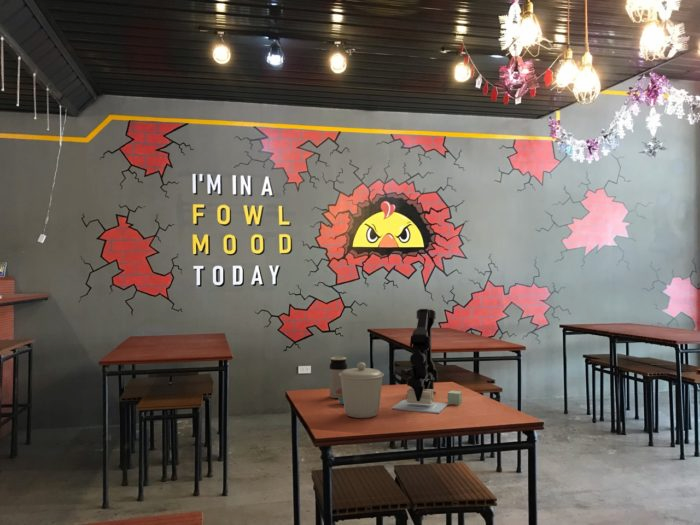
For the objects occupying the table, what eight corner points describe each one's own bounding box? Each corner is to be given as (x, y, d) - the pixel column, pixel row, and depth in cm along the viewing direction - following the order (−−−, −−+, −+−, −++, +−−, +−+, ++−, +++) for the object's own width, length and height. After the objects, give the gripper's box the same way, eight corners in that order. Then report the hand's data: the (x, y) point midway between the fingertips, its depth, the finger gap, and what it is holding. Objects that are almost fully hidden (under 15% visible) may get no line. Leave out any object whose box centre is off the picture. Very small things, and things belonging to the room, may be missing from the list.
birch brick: (410, 399, 239) (410, 387, 240) (433, 401, 236) (433, 389, 236) (407, 402, 234) (407, 390, 234) (430, 404, 230) (430, 392, 230)
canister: (378, 422, 210) (377, 367, 211) (333, 419, 216) (332, 365, 216) (388, 411, 228) (388, 360, 228) (346, 408, 233) (346, 358, 233)
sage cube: (450, 401, 244) (450, 390, 244) (461, 402, 242) (461, 391, 242) (447, 404, 240) (447, 392, 240) (459, 405, 238) (459, 393, 238)
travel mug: (350, 396, 256) (350, 357, 256) (341, 399, 249) (341, 359, 249) (335, 394, 260) (335, 356, 260) (326, 398, 253) (326, 358, 253)
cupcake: (332, 404, 240) (332, 376, 240) (340, 400, 247) (340, 373, 248) (351, 406, 236) (351, 378, 237) (358, 402, 244) (358, 374, 244)
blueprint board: (403, 400, 246) (403, 399, 246) (448, 405, 238) (448, 403, 238) (392, 409, 231) (392, 407, 231) (439, 413, 224) (439, 411, 224)
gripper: (408, 358, 247) (408, 393, 247) (395, 364, 230) (395, 402, 230) (432, 359, 243) (433, 395, 242) (421, 366, 225) (421, 405, 225)
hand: (420, 399), depth 235 cm, fingers closed on birch brick, 6 cm apart
